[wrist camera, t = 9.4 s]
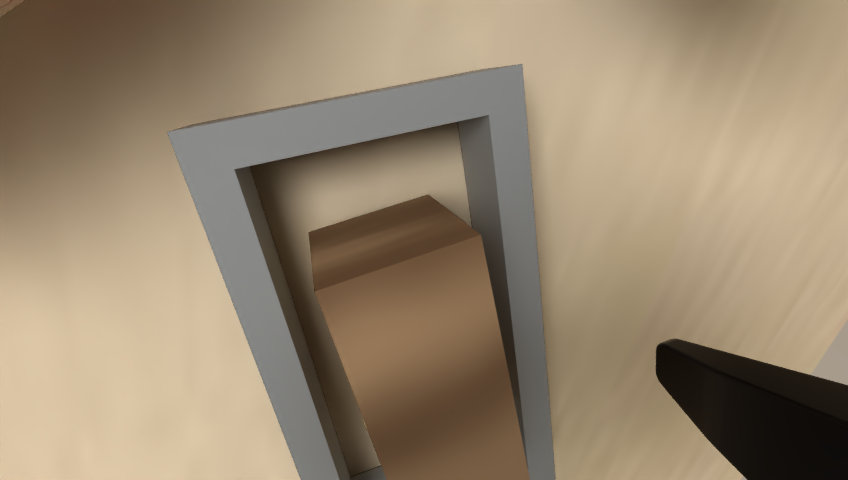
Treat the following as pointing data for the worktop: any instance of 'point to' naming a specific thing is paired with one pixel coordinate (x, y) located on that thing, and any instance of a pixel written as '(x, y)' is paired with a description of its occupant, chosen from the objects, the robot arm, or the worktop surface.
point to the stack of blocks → (8, 5)
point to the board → (420, 342)
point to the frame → (348, 124)
